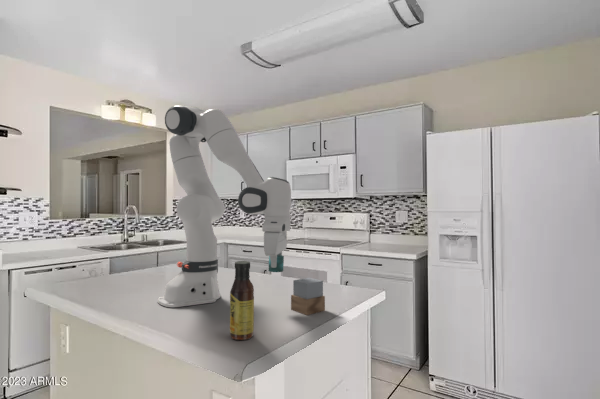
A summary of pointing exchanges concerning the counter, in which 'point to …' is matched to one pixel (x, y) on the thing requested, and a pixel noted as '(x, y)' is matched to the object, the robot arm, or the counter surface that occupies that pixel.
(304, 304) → the walnut base block
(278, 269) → the teal cylinder
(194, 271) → the robot arm
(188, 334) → the counter surface
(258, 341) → the counter surface
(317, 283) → the slate top block
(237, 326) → the sauce bottle
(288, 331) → the counter surface
